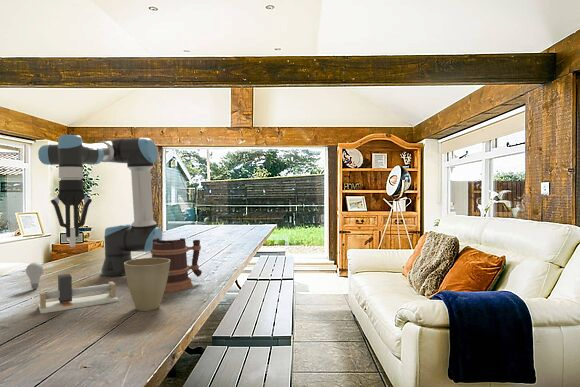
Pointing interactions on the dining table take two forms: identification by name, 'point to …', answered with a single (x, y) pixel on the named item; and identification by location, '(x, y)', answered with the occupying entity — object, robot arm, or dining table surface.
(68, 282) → the dark grey slider block
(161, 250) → the mug
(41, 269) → the lightbulb
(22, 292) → the dining table surface
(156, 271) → the plant pot
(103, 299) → the rail
